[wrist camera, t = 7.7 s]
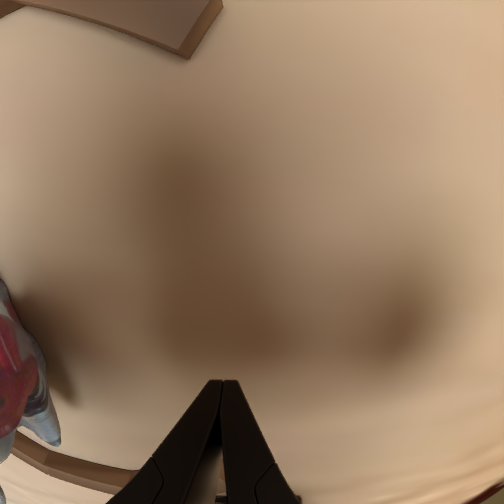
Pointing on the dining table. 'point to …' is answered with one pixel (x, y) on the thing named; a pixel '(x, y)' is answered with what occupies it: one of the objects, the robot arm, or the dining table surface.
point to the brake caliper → (22, 384)
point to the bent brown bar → (175, 40)
